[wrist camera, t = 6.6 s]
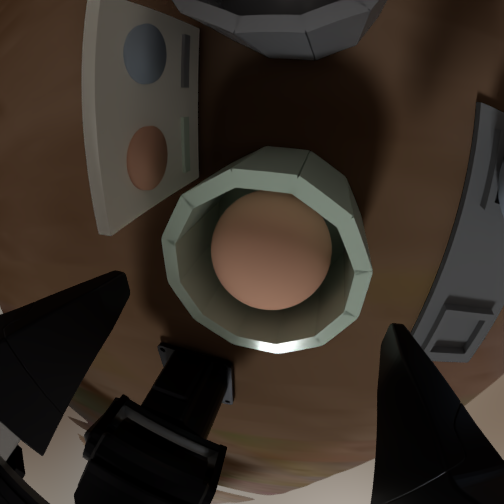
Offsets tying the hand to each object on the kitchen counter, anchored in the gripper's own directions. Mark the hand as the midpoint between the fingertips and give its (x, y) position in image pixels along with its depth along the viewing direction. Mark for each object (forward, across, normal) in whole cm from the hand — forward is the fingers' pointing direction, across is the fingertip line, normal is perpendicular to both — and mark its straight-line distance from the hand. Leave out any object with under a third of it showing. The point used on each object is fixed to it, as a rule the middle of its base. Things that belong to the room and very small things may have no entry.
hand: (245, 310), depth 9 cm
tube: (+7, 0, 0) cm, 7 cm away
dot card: (+7, +5, -6) cm, 10 cm away
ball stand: (+7, -12, 0) cm, 14 cm away
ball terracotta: (+6, 0, 0) cm, 6 cm away
